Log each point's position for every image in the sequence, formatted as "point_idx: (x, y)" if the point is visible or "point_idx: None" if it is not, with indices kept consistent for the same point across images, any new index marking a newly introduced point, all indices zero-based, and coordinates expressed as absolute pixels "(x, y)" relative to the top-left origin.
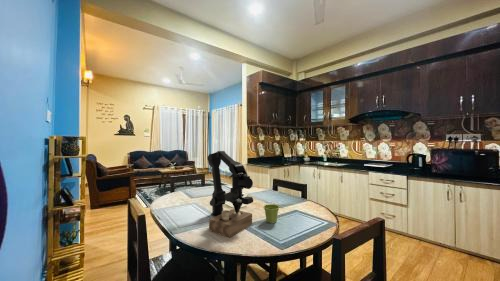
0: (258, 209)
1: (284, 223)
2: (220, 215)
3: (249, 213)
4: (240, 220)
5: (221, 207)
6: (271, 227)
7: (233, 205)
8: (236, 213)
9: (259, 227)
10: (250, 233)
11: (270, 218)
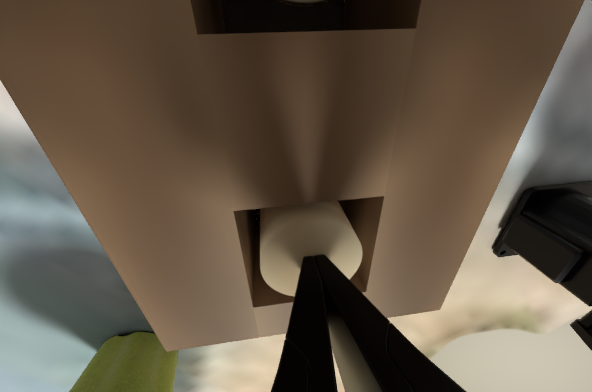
0: None
1: (56, 372)
2: (536, 16)
3: (192, 339)
4: (31, 105)
5: (575, 274)
6: (39, 302)
7: (432, 371)
8: (312, 252)
9: (97, 254)
10: (4, 110)
11: (92, 372)
